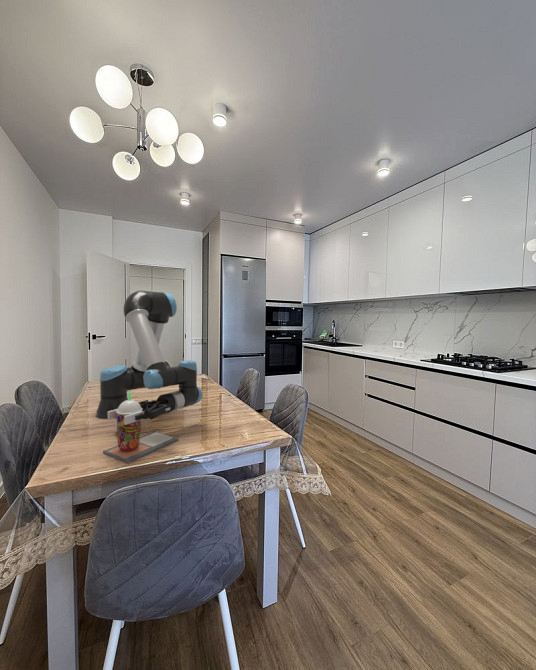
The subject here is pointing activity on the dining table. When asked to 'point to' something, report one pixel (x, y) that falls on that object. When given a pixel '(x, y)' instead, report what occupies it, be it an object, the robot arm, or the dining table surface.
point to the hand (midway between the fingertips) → (116, 417)
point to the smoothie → (128, 425)
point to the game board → (142, 447)
